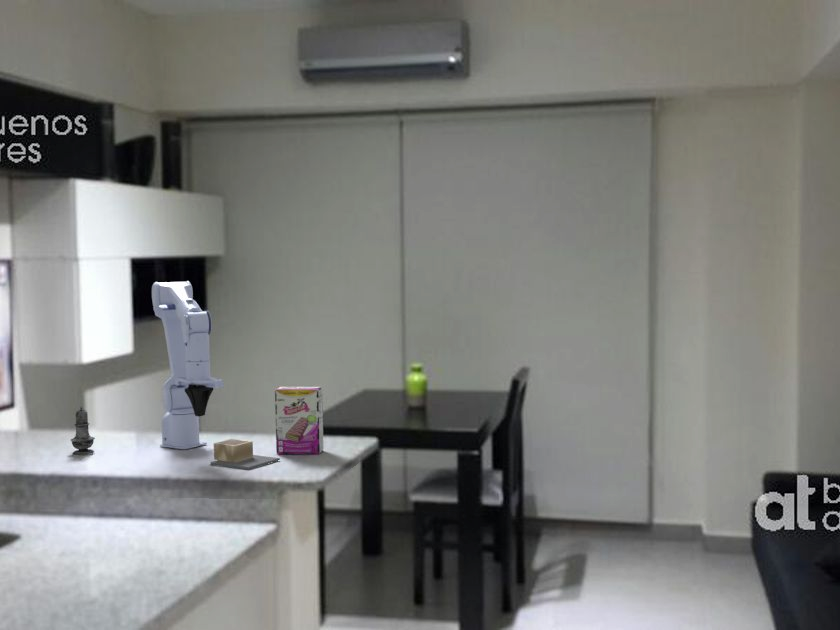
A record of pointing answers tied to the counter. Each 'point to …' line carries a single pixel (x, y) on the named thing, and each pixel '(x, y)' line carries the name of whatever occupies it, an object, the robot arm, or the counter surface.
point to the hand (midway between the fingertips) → (200, 415)
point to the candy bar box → (299, 420)
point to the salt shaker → (82, 434)
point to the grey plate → (246, 462)
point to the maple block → (233, 450)
